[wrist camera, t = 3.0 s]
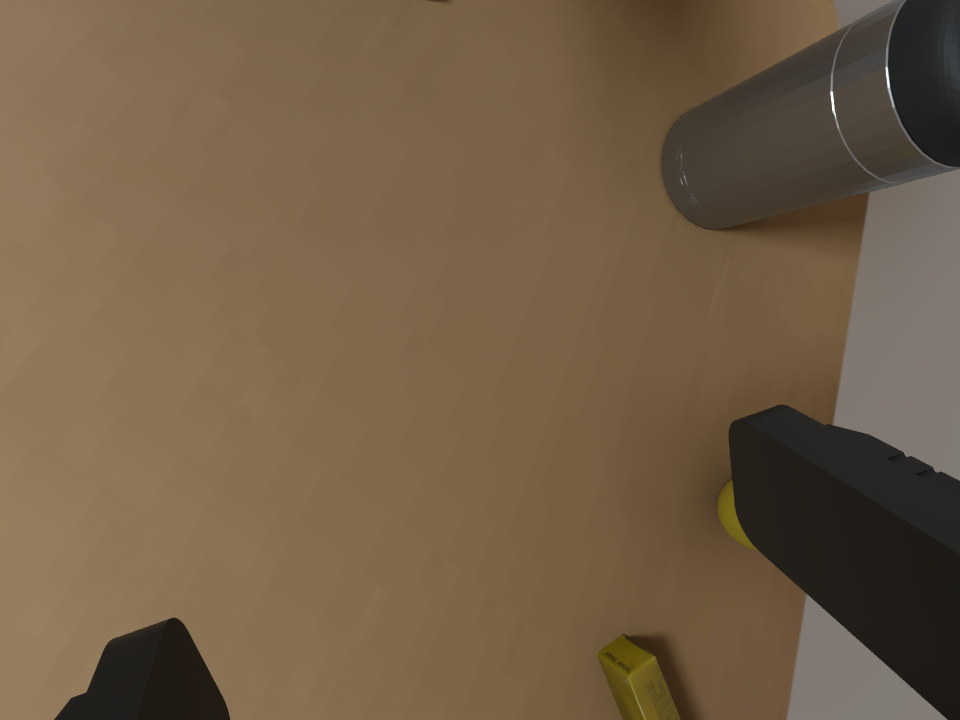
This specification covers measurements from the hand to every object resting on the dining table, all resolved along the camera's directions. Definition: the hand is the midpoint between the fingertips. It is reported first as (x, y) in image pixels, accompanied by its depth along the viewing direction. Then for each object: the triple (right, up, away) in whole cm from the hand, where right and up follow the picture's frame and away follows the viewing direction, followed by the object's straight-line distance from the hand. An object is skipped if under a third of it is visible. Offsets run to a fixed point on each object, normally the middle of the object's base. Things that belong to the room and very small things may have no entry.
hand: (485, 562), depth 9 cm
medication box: (+11, -23, +37) cm, 45 cm away
